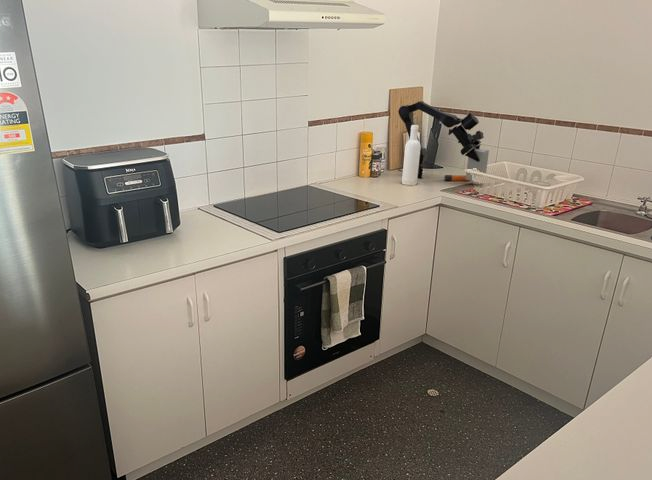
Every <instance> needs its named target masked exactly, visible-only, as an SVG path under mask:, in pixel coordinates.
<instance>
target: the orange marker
mask: <svg viewBox="0 0 652 480" xmlns="http://www.w3.org/2000/svg"><path fill="white" fill-rule="evenodd" d="M443 179H444V181H445V182H446V181H447V182H448V181H449V182H470V181H471V180H466V175H460V174H459V175H453V174H445V175H444V177H443Z"/></svg>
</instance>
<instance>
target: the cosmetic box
mask: <svg viewBox="0 0 652 480" xmlns="http://www.w3.org/2000/svg"><path fill="white" fill-rule="evenodd" d="M475 152H476V154H477V156H478V158H479V160H480V161H479V162H477V161H475V160H473V159H471V158H469V157H467V163H466V164H467V165H466V170H467V169H473V168H477V170H479V171H480V172H483V173H486V174H487V168H488V161H489V152H490V150H489V149H481V148H480V149H475ZM465 176H466V180H470V181H472V175H471V174H470V173H467V172H466V174H465Z"/></svg>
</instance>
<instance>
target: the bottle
mask: <svg viewBox="0 0 652 480" xmlns="http://www.w3.org/2000/svg"><path fill="white" fill-rule="evenodd" d="M419 126H420V125H418V124H414V125H412V126H411V134H410V138H409V139H408V140H407V141H406V142H405V145H404V154H403V165H402V176H401V184H402V185H405V186H415V185H417V183H418V179H419V178H417V177H418V167H419V158H420V148H421V147H422V145H421V141H420V140H419V141H418V140H417V137H418V138H419V129H420V128H419ZM420 145H421V146H420Z"/></svg>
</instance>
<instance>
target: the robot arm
mask: <svg viewBox="0 0 652 480" xmlns="http://www.w3.org/2000/svg"><path fill="white" fill-rule="evenodd" d="M417 111H421V112H423V113H425V114H427V115H429V116H430V117H433V118H434V119H437V120H438V121H439V122H440V123H441V124H442V125H443V126H445V127H446V128H450V129H448V133H447V134H448V136H450V135H452V134H453V136H454V137H455V138H456V139H457V143H458V144H460V145H461V146H462V148H461V149H460V154H461V156H465V157H467V158H468V157H469V158H471V159H473V160H475V161H477V162H479V161H480V160H479V158H478V156H477V154H476V152H475V149H481V148H480V147H481V144H482V141H481V140H482V139H484V138H485V136H484V132H483V131H481V130H477V131H475V133H473V134H471V133H468V131H471V130H472V129H473V128H475V127H476V126H477V125H478V124H479V123H480V121H479V118H477V116H475V114H472V112H469V113H468V114H467V115H466V116H465V117H464V118H459V117H458V116H457V115H455V114H452V113H448V112H444V111H442V110H439V109H438V108H436V107H434V106H432V105H430V104H428V103H426V102H425V101H423V100H420V101H417V102H415V103H412V104H405V105H401V106H400V107H399V109H398V111H397V112H398V115H399V118H400V119H401V121H402V122H403V123H404V125H405V129H406V132H407V135H408V139H410V134H411V126H412V125H415V122H414V112H417ZM417 140H418V141H419V142H420V139H419V136H418V137H417ZM420 146H421V148H420V158H419V167H418V177H417V178H418V179H422V177H423V171H424V170H423V166H422V165H423V164H424V163H425V162H427V159H428V155H429V154H428V152H427V149H426V147H424V148H423V146H422V144H420Z"/></svg>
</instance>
